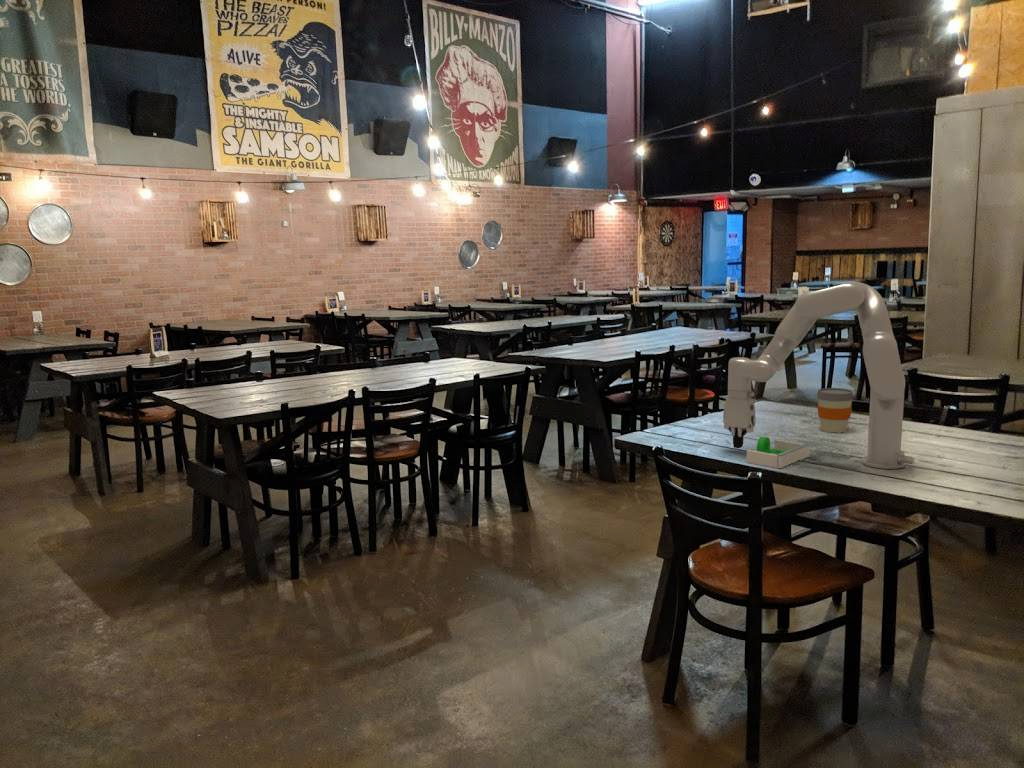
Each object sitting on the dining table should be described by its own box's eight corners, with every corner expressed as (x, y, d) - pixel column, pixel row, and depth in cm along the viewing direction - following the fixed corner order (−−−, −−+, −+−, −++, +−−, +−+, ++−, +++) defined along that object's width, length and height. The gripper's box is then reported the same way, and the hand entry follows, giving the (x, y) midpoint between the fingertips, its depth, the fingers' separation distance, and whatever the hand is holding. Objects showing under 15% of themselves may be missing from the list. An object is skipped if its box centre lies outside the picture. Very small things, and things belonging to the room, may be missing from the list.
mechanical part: (774, 465, 252) (774, 441, 251) (756, 462, 256) (757, 438, 255) (790, 457, 261) (790, 433, 259) (772, 454, 265) (773, 431, 263)
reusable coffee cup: (857, 433, 289) (859, 393, 287) (822, 434, 290) (824, 394, 287) (843, 426, 302) (845, 387, 299) (810, 426, 302) (812, 388, 300)
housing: (809, 456, 260) (809, 443, 259) (780, 468, 247) (780, 455, 246) (776, 450, 269) (776, 438, 268) (746, 462, 255) (746, 449, 255)
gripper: (765, 395, 262) (763, 448, 265) (725, 390, 273) (724, 441, 276) (753, 398, 257) (752, 453, 260) (713, 393, 268) (712, 445, 271)
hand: (738, 447), depth 268 cm, fingers closed
